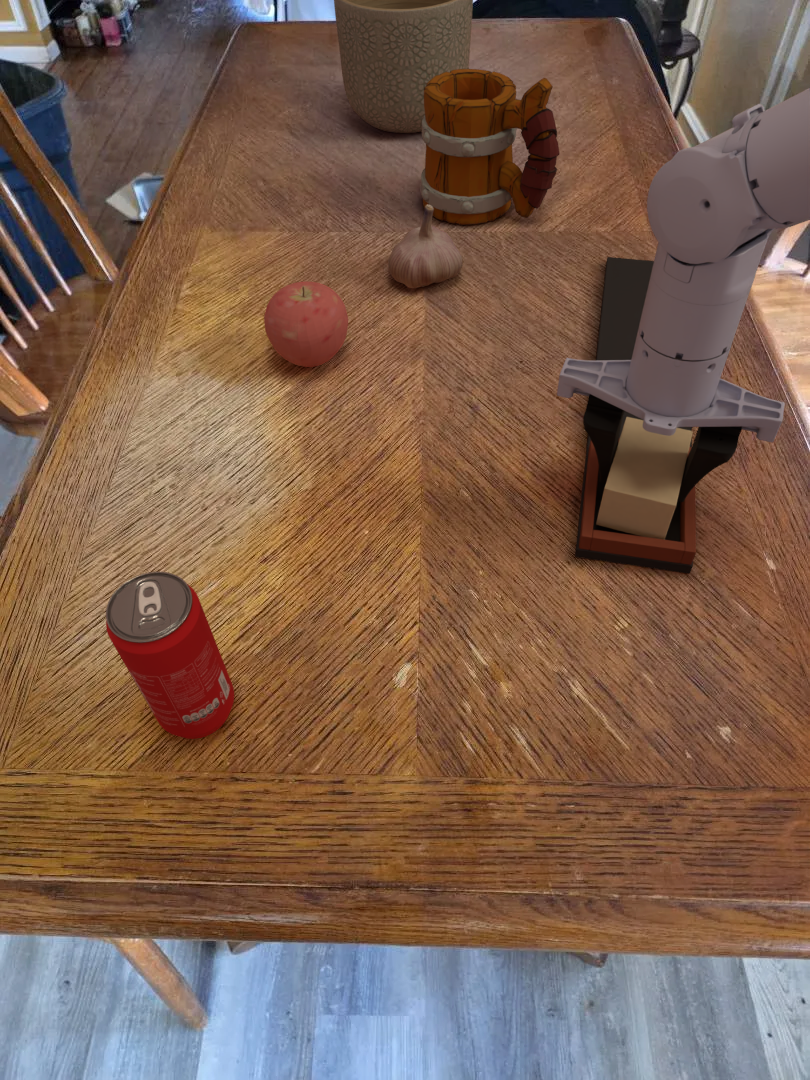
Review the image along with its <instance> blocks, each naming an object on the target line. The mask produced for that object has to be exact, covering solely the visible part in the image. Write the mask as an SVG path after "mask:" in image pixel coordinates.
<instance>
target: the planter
mask: <svg viewBox="0 0 810 1080" xmlns="http://www.w3.org/2000/svg"><path fill="white" fill-rule="evenodd" d="M333 5H334V16H335V25H336V33H337V40H338V49H339V50H338V51H339V56H340V57H339V59H340V66H341V75H342V82H343V87H344V92H345V95H346V98H347V101H348V103H349V105H350V107H351V109H352V110H353V111H354V113H355V114H356V115H357V116H358V117H359V118H361V119H362V120H363V122H365V123H367V124H368V125H370V126H371V127H373V128H376V129H378V130H380V131H384V132H388V133H394V134H414V133H422V120H423V117H424V115H425V110H424V87H426V85H427V83H428V82H429V81H430V80H431V79H432V78H433V77H435V76H436V75H440V74H442V73H444V72H450V71H452V70H457V69H470V58H471V57H470V54H471V42H472V41H471V38H472V24H473V11H474V9H473V5H474V0H333Z"/></svg>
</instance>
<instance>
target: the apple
mask: <svg viewBox="0 0 810 1080" xmlns="http://www.w3.org/2000/svg"><path fill="white" fill-rule="evenodd" d="M263 323H264V331H265V334H266V337H267V339H268V341H269V343H270V344H271V347H272V348H273V349H274V350H275V352H276V353H277V354H278V355H279V356H280V357H281V358H283V359H284V360H286V361H287V362H289V363H291V364H292V365H296V366H298V367H304V368H313V367H318V366H321V365H324V364H326V363H327V362H329V361H331V359H332V358H334V357H336V355H337V354H338V352H339V351H340V349H342V347H343V345H344V343H345V341H346V340H347V339H346V338H347V335H348V328H349V327H348V326H349V316H348V312H347V307H346V305H345V302H344V301H343V300H342V298H341V296H339V294H338V293H337V292H336V291H335V290H333V289H332V288H331V287H329V286H327V285H326V284H323V283H320V282H317V281H309V280H307V281H298V282H292V283H290V284H287V285H285V286H283V287H281V288H280V289H278V291H276V292H274V294H273V295H272V296H271V298H270V300H269V301H268V303H267V304H266V308H265V311H264V316H263Z"/></svg>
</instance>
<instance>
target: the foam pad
mask: <svg viewBox="0 0 810 1080" xmlns="http://www.w3.org/2000/svg"><path fill="white" fill-rule="evenodd" d="M693 433H694V432H693V430H692V431H689V430H685V429H680V428H676V431H675V433H674V435H671V436H666V435H661V434H657V433H652V432H648V431H646V430H645V429H644V428H643V420H639V419H635V418H630V417H626V420H625V423H624V426H623V430H622V433H621V436H620V439H619V443H618V446H617V449H616V452H615V456H614V459H613V462H612V465H611V469H610V472H609V475H608V478H607V482H606V485H605V488H604V492H603V497H602V501H601V505H600V509H599V514H598V518H597V522H596V525H599V526H603V527H607V528H611V529H615V530H619V531H623V532H626V533H630V534H634V535H638V536H642V537H649V538H656V539H663V540H665V537H666V534H667V531H668V528H669V525H670V522H671V519H672V516H673V513H674V510H675V508H676V504H677V500H678V495H679V491H680V486H681V482H682V478H683V473H684V469H685V464H686V460H687V456H688V451H689V447H690V442H691V438H692V439H693Z"/></svg>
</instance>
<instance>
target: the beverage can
mask: <svg viewBox="0 0 810 1080" xmlns="http://www.w3.org/2000/svg"><path fill="white" fill-rule="evenodd" d="M105 628H106V633H107V635H108V638H109V640H110V641H111V643H112V645H113V647H114V648H115V650H116V652H117V653H118V656H119V657H120V659H121V660H122V662H123V663H124V666H125V667H126V669H127V671H128V672H129V674H130V676H131V677H132V680H133V681H134V683H135V685H136V687H137V689H138V690H139V692H140V693H141V695H142V697H143V698H144V700H145V702H146V704H147V706H148V707H149V709H150V711H151V712H152V713H151V714H153V716H154V718H155V720H156V721H157V722H158V725H159V726H160V727H161V728H162V729H163V730H164V731H166V732H167V733H169V734H171V735H172V736H176V737H179V738H182V739H185V740H199V739H200V740H201V739H204V738H207V737H209V736H211V735H213V734H215V733H216V732H217V731H219V730H220V729H221V728H222V727H223V726H224V725H225V724H226V722H227V721H228V719H229V717H230V714H231V711H232V709H233V705H234V702H235V689H234V685H233V682H232V680H231V677H230V675H229V672H228V670H227V667H226V664H225V662H224V659H223V657H222V655H221V652H220V649H219V646H218V644H217V641H216V639H215V637H214V634H213V632H212V629H211V626H210V624H209V621H208V619H207V616H206V614H205V611H204V608H203V606H202V603H201V601H200V597H199V596H198V594H197V592H196V591H195V589H194V588H193V587H192V586H191V585H190V584H189V583H187V582H186V581H185V579H183V578H182V577H181V576H179V575H177V574H174V573H172V572H167V571H149V572H145V573H144V572H143V573H141V574H138V575H136V576H133V577H131V578H130V579H128V580H126V581H125V582H124V583H122V584H121V585H119V587H118V588H116V590H114V591H113V593H112V594H111V596H110V597H109V600H108V602H107V604H106V609H105Z"/></svg>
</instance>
